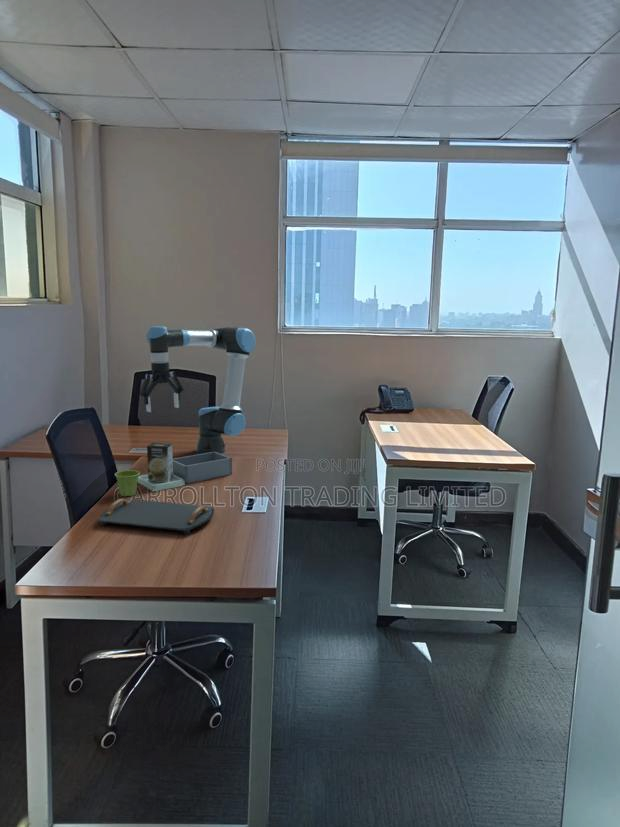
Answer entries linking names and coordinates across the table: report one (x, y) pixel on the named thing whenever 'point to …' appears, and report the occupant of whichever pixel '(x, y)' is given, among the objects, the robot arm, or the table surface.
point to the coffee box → (160, 462)
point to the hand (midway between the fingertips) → (163, 409)
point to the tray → (161, 486)
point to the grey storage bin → (202, 466)
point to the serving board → (157, 514)
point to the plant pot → (127, 482)
